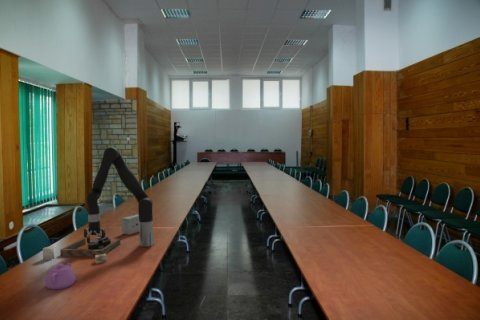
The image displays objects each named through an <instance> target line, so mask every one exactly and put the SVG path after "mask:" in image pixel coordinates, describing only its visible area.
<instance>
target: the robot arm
mask: <svg viewBox="0 0 480 320" xmlns="http://www.w3.org/2000/svg"><path fill="white" fill-rule="evenodd" d="M112 165H113V166H114V168H115V169H116V172H117V175H118V177H119V179H120V182H121V183H122V184H123V185H124V187H125V188H126V189H127V190H128V191H129V192H130V193H131V194H132V195H133V196H134V197H135V199H136V201H137V202H138V209H137V210H138V214H139V232H138V235H139V236H138V237H139V247H142V248H143V247H144V248H147V247H152V246H154V245H155V230H154V223H153V221H154V216H153V205H154V204H153V203H154V202H153V200H152V199H151V198H150V197H149V196H148V194H147V193H146V192H145V191H144V189H143V187H142V186H141V183H140V182H139V180H138V179H137V177H136V176H135V174H134V172H133V171H132V169H131V168H130V167H129V166H128V165H127V163H126V162H125V161H124V159H123V157H122V155H121V153H120V151H119V149H117V148H116V147H114V146H112V147H111V146H110V147H107V148H106V149H105V148H104V150H103V155H102V159H101V163H100V166H99V169H98V171H97V174H96V175H95V178H94V179H93V183H92V189H91V191H90V192H88V194H87V195H86V203H87V208H88V209H87V210H88V211H87V212H88V216H87V221H88V223H87V225H88V226H87V227H88V228H87V227H86V228H84V229H83V238H85V239H86V243H87V244H88V243H89V242H90V241H91V236H96V237H101V238H104V237H106V230H105V228H101V214H100V205H99V202H98V201H99V200H100V198H101V195H102V191H103V188H104V187H105V184H106V182H107V179H108V175H109V173H110V169H111V167H112Z"/></svg>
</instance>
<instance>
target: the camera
mask: <svg viewBox="0 0 480 320" xmlns="http://www.w3.org/2000/svg"><path fill="white" fill-rule="evenodd" d="M111 243H112V241H111V238H109V236H105V237H104V238H101V237H98V236H96V237H95V238H93V239H90V242H89V243H87V247H88V248H87V249H93V250H101V249H103V248H104V247H106V246H107V245H109V244H111Z"/></svg>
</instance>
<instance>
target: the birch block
mask: <svg viewBox="0 0 480 320" xmlns="http://www.w3.org/2000/svg"><path fill="white" fill-rule="evenodd" d="M94 259H95V260H94V262H95V264H100V263H101V264H102V263H106V262H107V254H100V255H95V257H94Z"/></svg>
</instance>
